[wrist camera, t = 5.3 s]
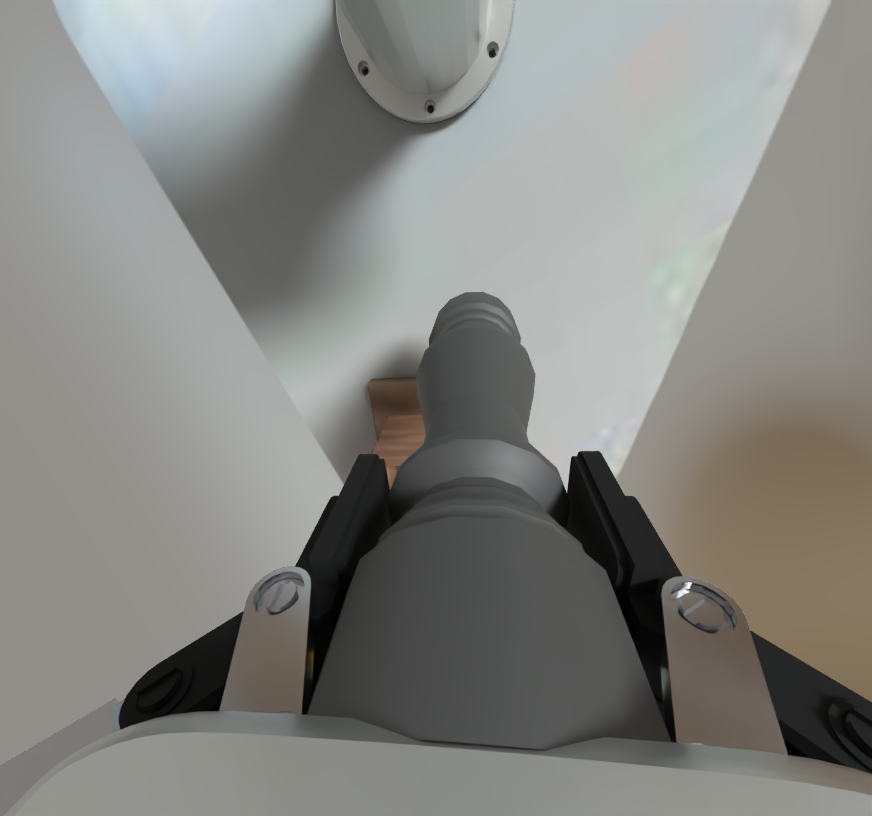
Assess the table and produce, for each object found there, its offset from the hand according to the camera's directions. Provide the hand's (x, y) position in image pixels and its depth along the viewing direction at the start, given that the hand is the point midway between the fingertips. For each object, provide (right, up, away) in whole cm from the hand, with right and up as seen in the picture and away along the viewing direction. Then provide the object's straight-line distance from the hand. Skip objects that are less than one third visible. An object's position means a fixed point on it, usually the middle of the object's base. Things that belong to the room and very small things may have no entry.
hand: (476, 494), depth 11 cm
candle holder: (+2, +8, +16) cm, 18 cm away
